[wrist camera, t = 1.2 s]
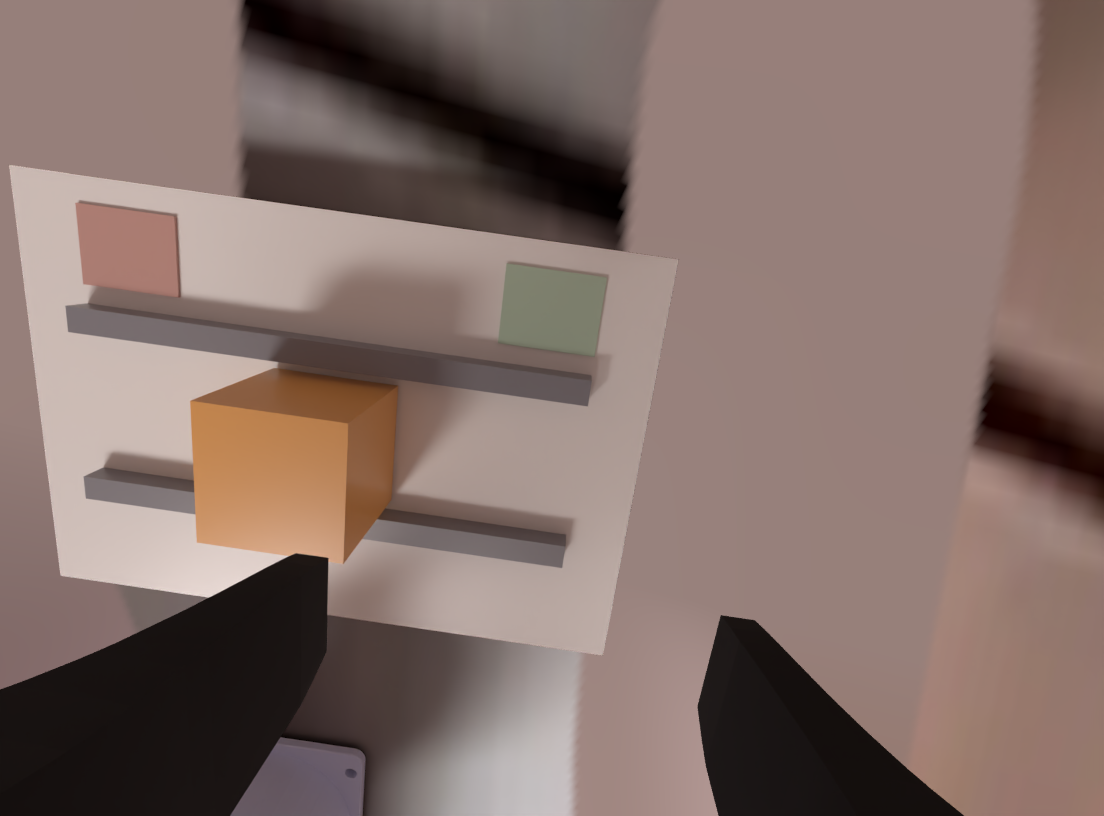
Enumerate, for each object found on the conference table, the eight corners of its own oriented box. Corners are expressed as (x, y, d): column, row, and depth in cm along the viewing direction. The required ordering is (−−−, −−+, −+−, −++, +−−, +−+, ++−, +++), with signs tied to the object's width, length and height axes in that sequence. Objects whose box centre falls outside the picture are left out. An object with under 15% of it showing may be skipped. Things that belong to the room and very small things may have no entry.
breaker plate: (600, 620, 22) (603, 671, 20) (104, 547, 22) (40, 588, 20) (668, 257, 18) (683, 260, 16) (68, 173, 19) (-19, 160, 16)
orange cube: (391, 499, 19) (343, 564, 15) (274, 482, 19) (196, 542, 15) (398, 385, 18) (348, 423, 14) (273, 368, 18) (189, 400, 14)
